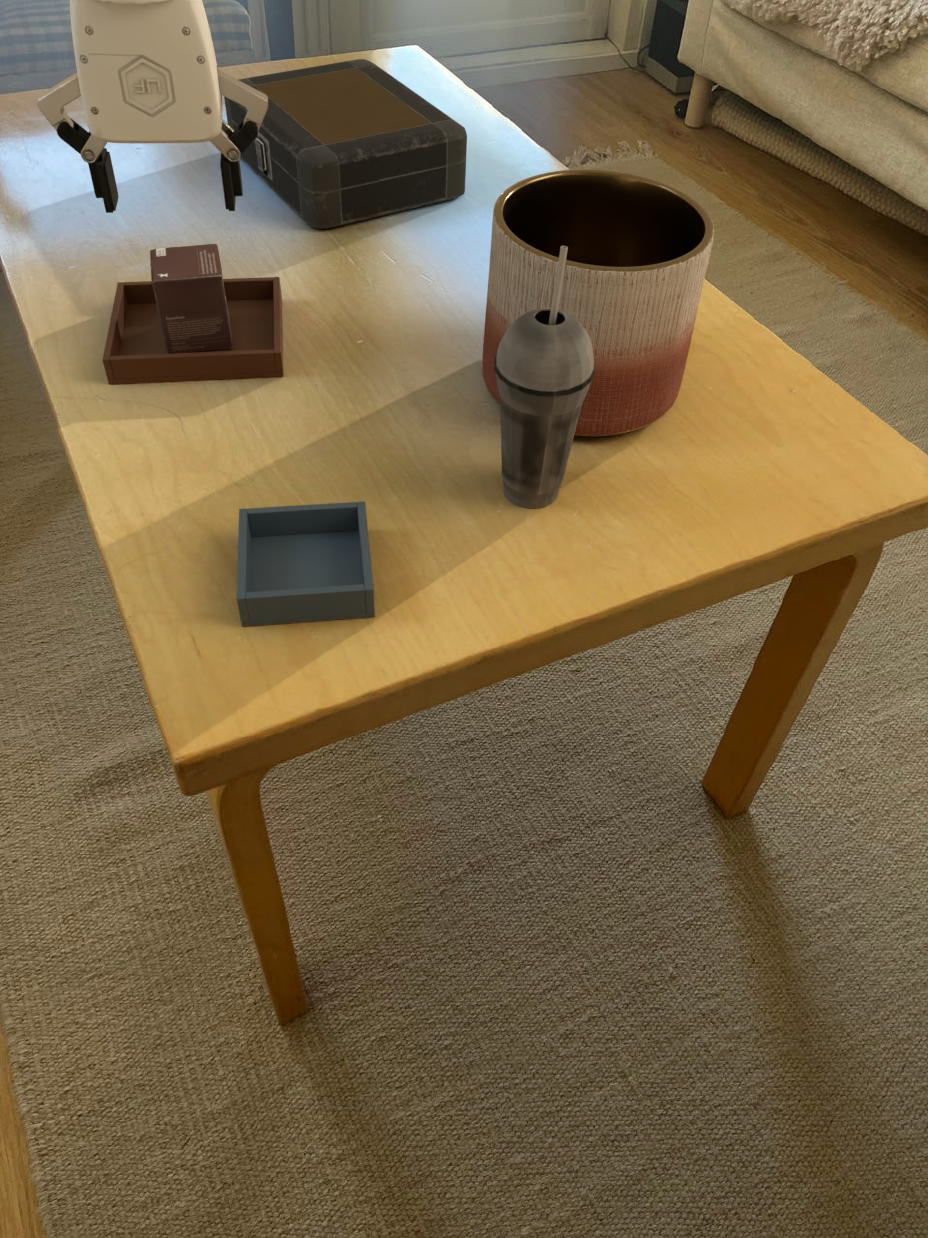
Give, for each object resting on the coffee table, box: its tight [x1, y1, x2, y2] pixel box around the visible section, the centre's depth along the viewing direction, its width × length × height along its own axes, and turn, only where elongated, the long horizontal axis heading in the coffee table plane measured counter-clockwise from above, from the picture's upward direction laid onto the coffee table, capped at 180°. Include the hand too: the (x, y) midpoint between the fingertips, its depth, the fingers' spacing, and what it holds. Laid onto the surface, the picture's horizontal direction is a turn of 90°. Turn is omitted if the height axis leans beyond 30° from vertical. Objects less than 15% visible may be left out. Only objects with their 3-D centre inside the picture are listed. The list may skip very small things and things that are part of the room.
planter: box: [482, 168, 715, 438], centre depth 84 cm, size 18×18×16 cm
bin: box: [236, 501, 376, 627], centre depth 71 cm, size 9×9×3 cm
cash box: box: [223, 58, 468, 230], centre depth 115 cm, size 25×20×8 cm
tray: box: [102, 276, 284, 385], centre depth 91 cm, size 15×13×2 cm
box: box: [149, 243, 233, 354], centre depth 89 cm, size 6×6×7 cm
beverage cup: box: [494, 246, 595, 509], centre depth 72 cm, size 7×7×20 cm
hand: (172, 204), depth 83 cm, fingers open, 9 cm apart
